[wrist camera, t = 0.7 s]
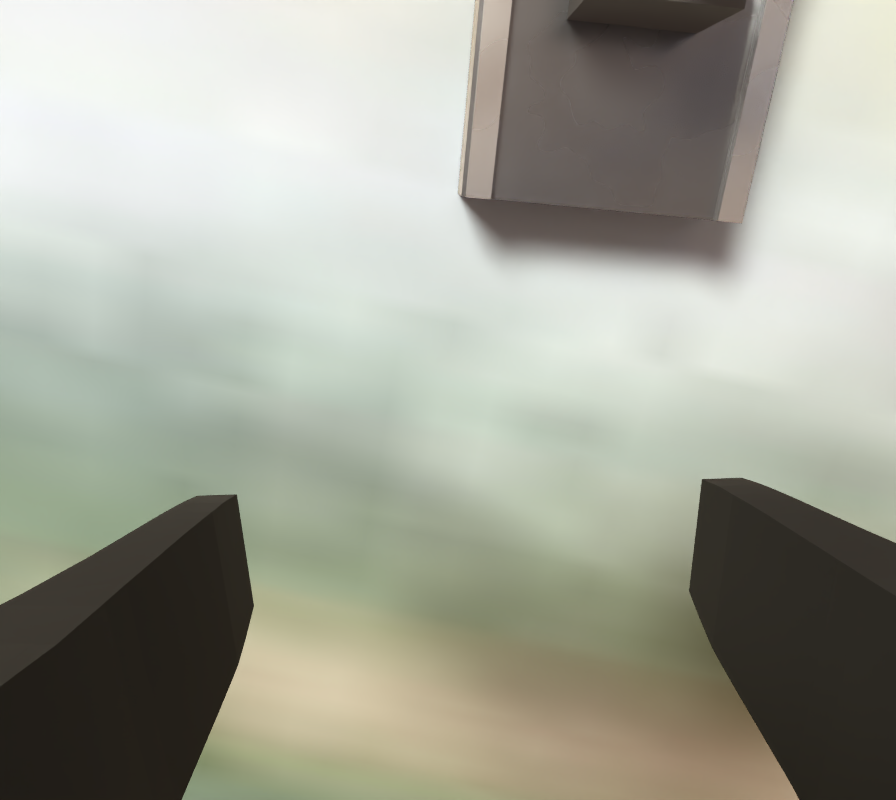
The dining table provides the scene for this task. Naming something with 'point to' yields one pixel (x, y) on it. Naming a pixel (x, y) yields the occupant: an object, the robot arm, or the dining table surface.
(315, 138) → the dining table surface
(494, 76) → the strip
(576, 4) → the cord plug
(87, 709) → the robot arm
